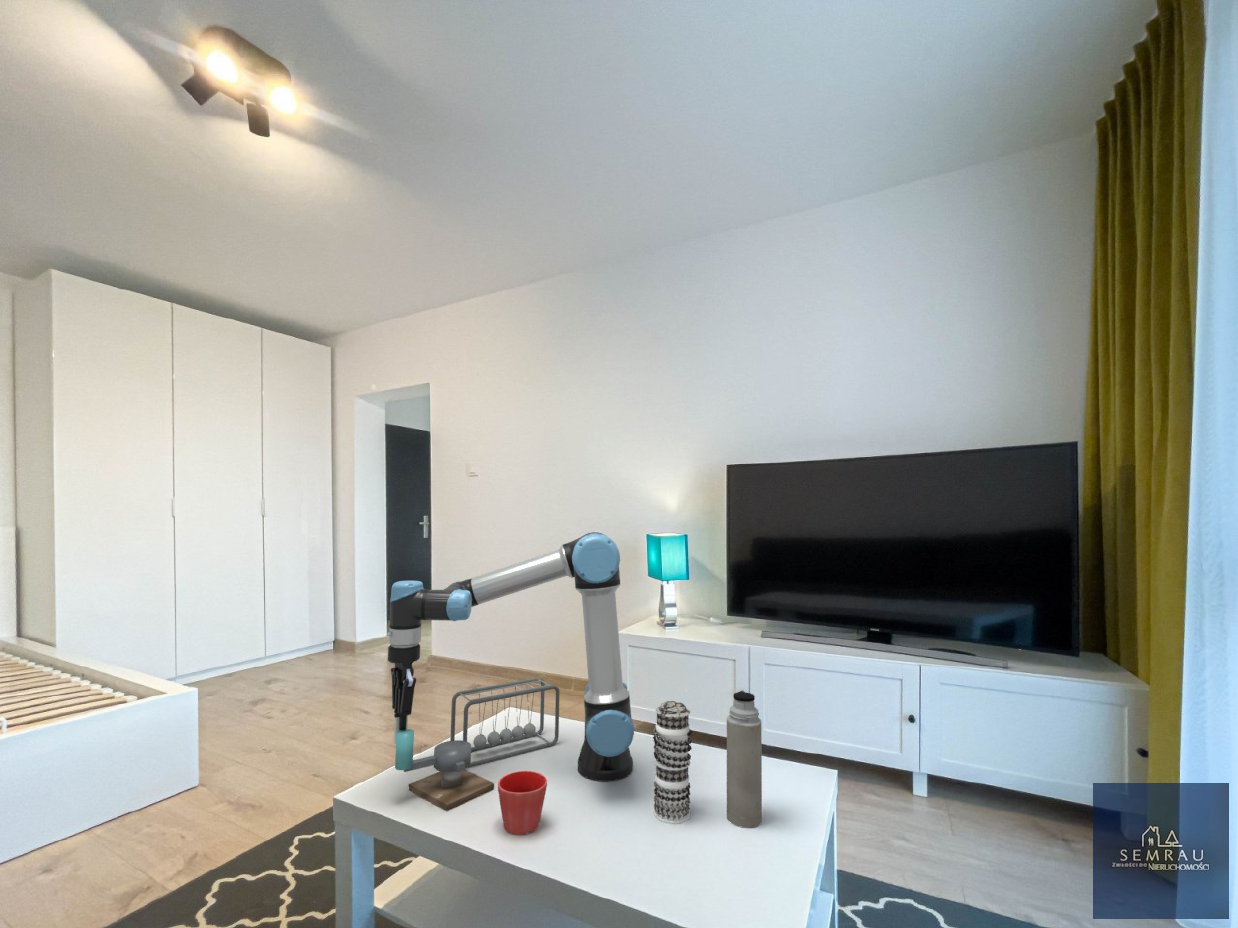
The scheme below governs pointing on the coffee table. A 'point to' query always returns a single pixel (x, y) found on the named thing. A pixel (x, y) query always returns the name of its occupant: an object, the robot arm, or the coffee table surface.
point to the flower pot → (522, 801)
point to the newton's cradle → (505, 733)
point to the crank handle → (444, 758)
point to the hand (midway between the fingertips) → (400, 741)
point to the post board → (451, 788)
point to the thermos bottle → (744, 762)
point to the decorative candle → (672, 763)
